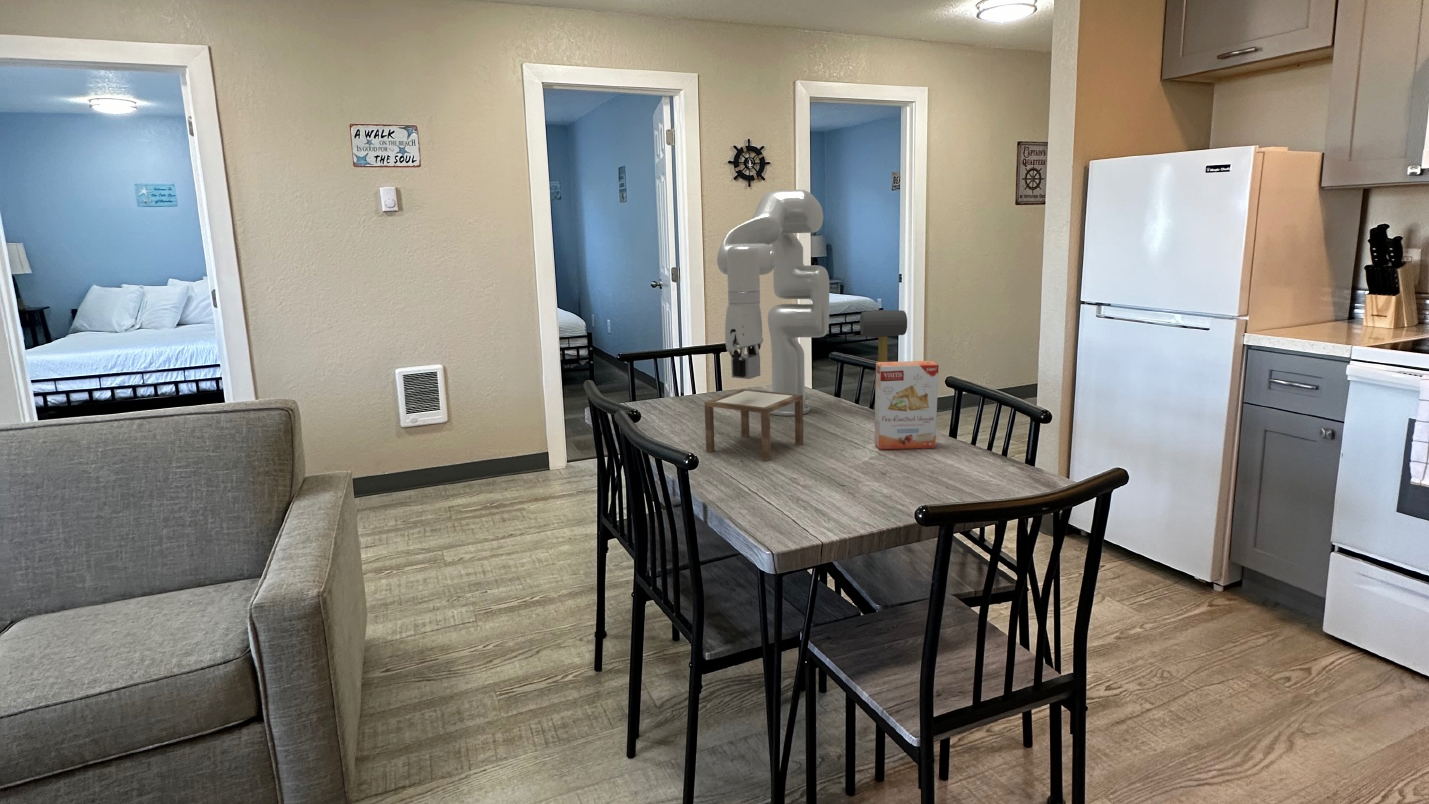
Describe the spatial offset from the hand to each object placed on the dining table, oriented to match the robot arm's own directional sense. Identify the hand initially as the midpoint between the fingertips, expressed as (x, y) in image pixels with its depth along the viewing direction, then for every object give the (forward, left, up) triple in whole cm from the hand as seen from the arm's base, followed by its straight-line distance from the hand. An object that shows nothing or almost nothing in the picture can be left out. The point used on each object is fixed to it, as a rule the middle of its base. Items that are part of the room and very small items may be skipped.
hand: (745, 373), depth 196 cm
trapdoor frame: (-3, 0, -19) cm, 20 cm away
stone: (0, 0, -1) cm, 1 cm away
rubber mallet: (-49, +14, -20) cm, 55 cm away
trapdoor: (-3, 0, -8) cm, 9 cm away
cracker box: (-21, +32, -20) cm, 43 cm away
